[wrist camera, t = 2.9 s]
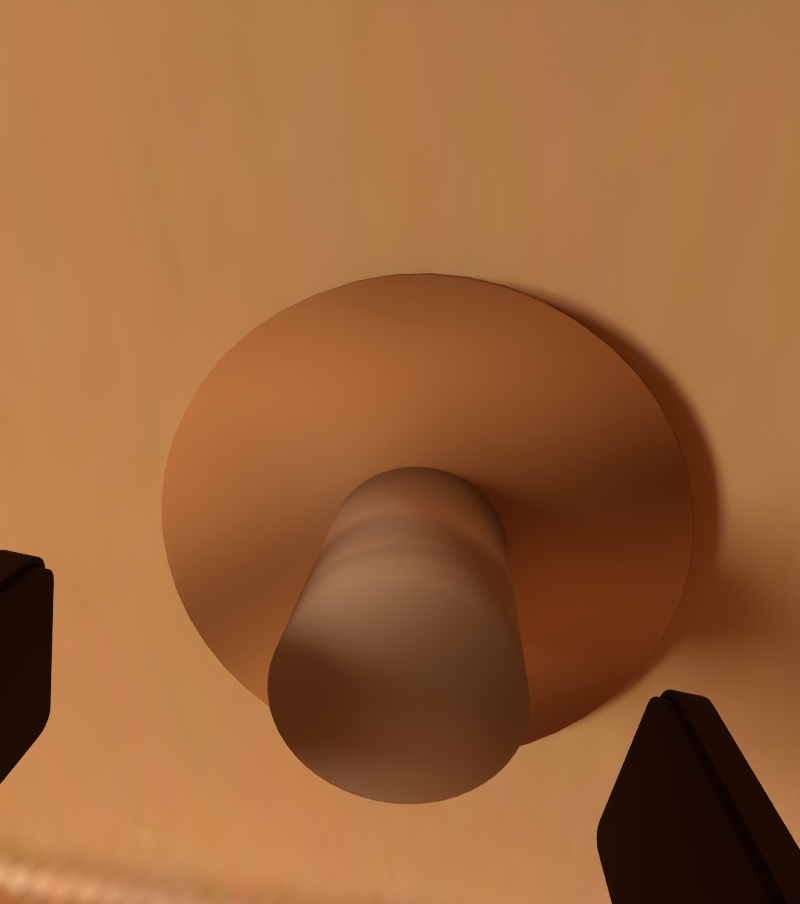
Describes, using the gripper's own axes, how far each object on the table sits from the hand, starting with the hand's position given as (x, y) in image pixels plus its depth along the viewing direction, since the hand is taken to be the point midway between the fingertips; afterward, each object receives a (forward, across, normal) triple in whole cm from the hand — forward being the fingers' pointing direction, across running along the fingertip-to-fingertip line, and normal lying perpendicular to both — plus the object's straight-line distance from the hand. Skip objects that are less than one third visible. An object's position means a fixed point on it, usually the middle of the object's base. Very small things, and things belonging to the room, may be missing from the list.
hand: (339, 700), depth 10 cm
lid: (+6, -1, 0) cm, 6 cm away
